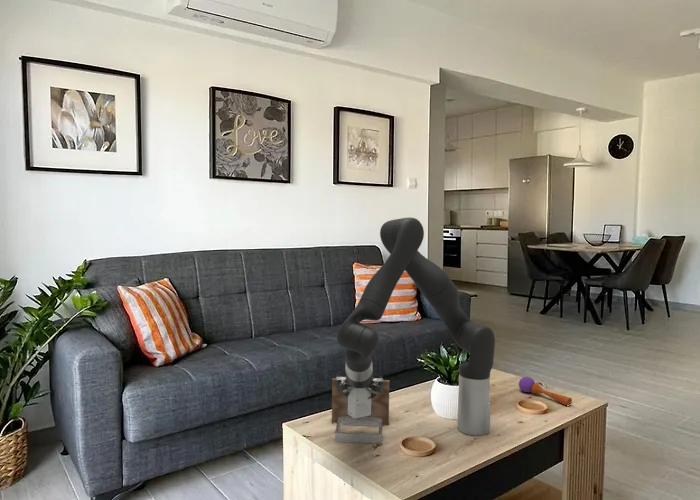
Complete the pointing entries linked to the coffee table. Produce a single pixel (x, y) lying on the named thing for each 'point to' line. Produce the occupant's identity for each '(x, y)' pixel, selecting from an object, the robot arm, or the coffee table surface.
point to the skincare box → (359, 403)
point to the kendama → (541, 390)
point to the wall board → (377, 403)
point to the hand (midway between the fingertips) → (359, 394)
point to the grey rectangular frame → (358, 436)
